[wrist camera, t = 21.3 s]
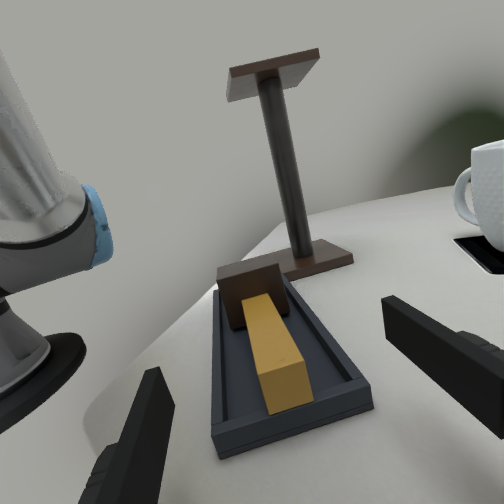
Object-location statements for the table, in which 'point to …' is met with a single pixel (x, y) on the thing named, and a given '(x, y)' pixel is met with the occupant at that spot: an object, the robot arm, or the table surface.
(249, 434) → the tray
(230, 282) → the mallet
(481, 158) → the mug
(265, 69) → the pedestal stand
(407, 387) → the table surface
